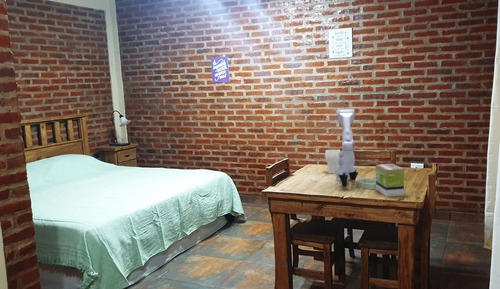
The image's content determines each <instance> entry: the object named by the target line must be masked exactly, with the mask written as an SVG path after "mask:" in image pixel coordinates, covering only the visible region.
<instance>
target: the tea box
mask: <svg viewBox="0 0 500 289" xmlns="http://www.w3.org/2000/svg"><path fill="white" fill-rule="evenodd" d="M375 180H376V189H375V191H378V192H379V193H380V194H382V195H383V196H385V197H387V198H388V197H402V196H405V168H403V167H400V166H398V165H396V164H394V163H384V164H376V165H375Z"/></svg>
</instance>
